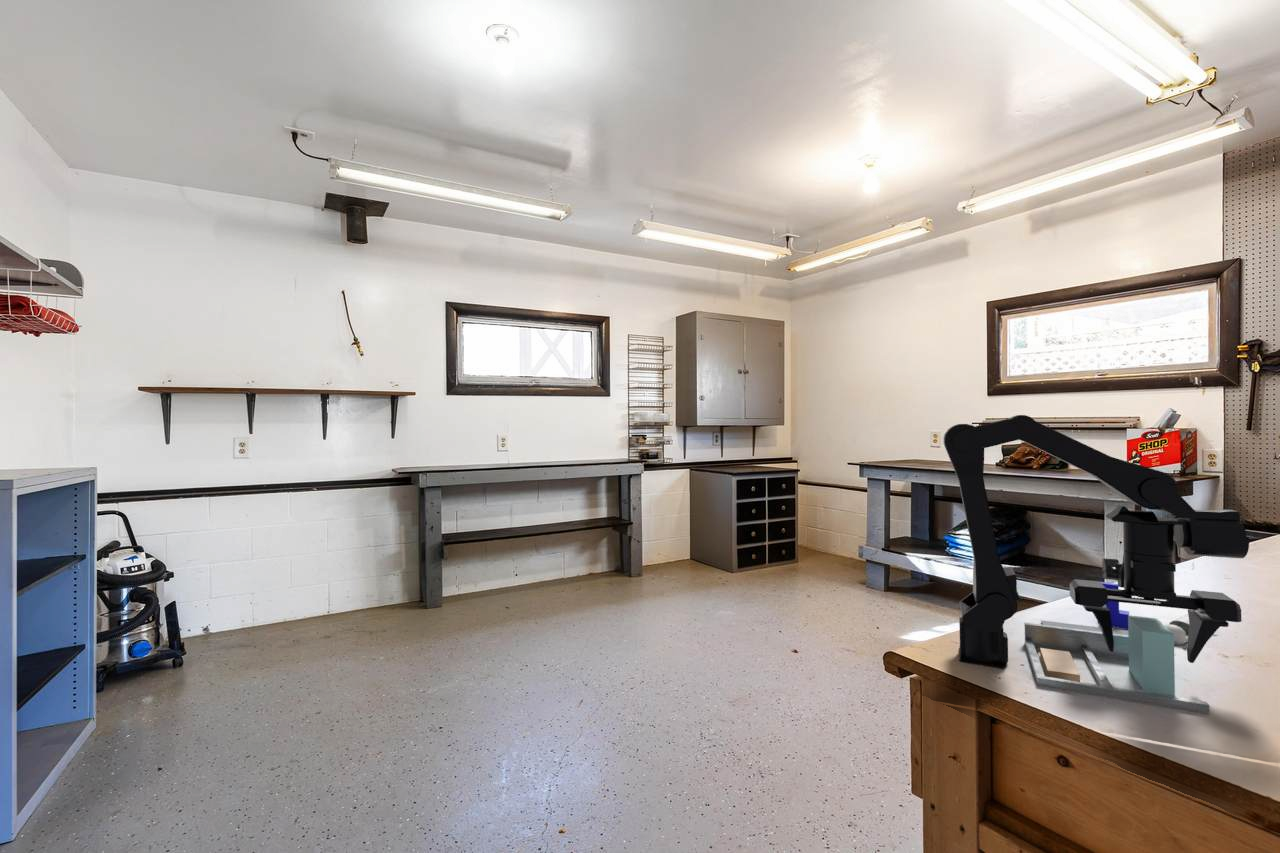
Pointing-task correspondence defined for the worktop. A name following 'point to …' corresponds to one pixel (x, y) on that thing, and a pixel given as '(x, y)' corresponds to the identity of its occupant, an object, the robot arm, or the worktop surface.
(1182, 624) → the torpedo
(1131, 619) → the pale teal block
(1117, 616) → the blue piece
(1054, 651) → the upper offcut
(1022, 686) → the worktop surface
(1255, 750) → the worktop surface
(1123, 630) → the rubber mat
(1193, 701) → the rack
